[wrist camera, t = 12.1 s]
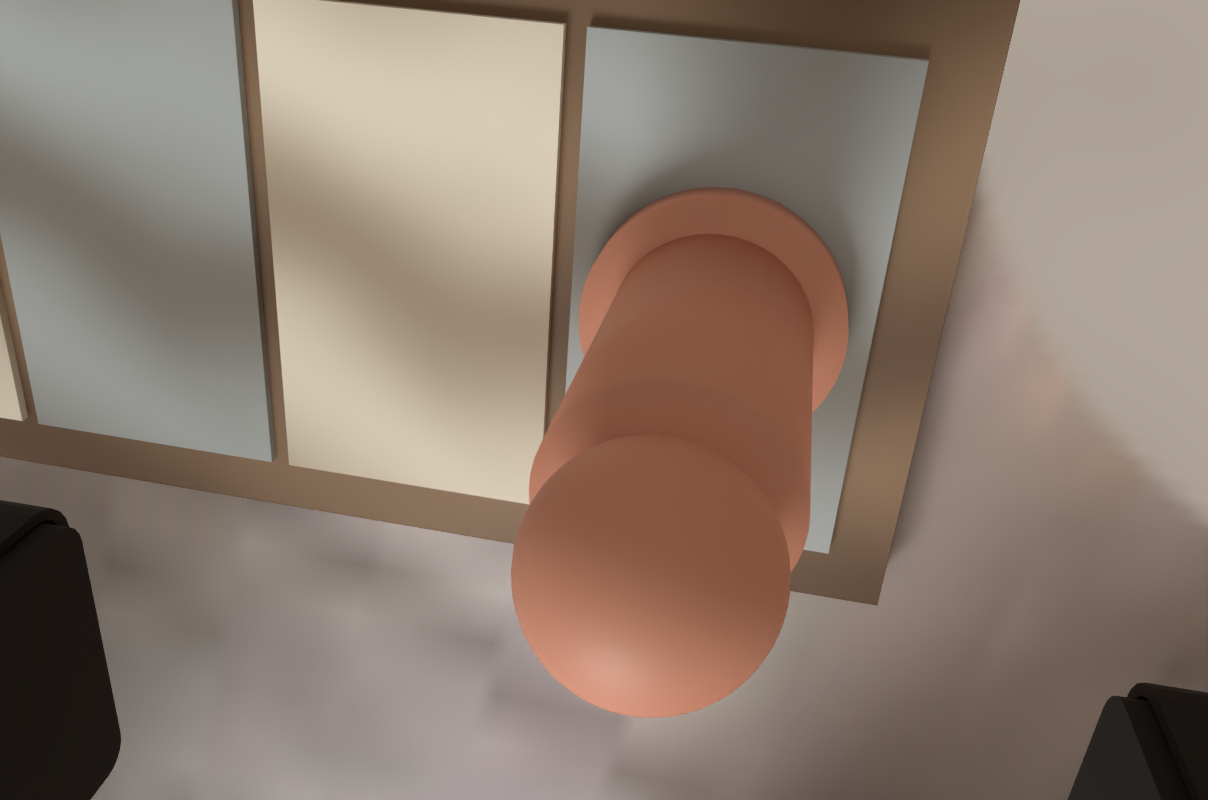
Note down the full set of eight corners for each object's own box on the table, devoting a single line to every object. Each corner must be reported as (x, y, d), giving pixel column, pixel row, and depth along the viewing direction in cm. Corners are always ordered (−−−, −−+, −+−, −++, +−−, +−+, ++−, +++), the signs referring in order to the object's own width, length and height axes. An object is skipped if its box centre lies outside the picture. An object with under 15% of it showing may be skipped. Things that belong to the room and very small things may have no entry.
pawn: (596, 171, 18) (397, 422, 10) (870, 204, 18) (916, 501, 9) (579, 411, 21) (407, 788, 12) (824, 447, 20) (826, 873, 11)
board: (-349, -140, 21) (-413, -141, 19) (1013, -19, 17) (1025, -13, 16) (-183, 401, 26) (-226, 422, 25) (875, 577, 22) (877, 611, 21)
